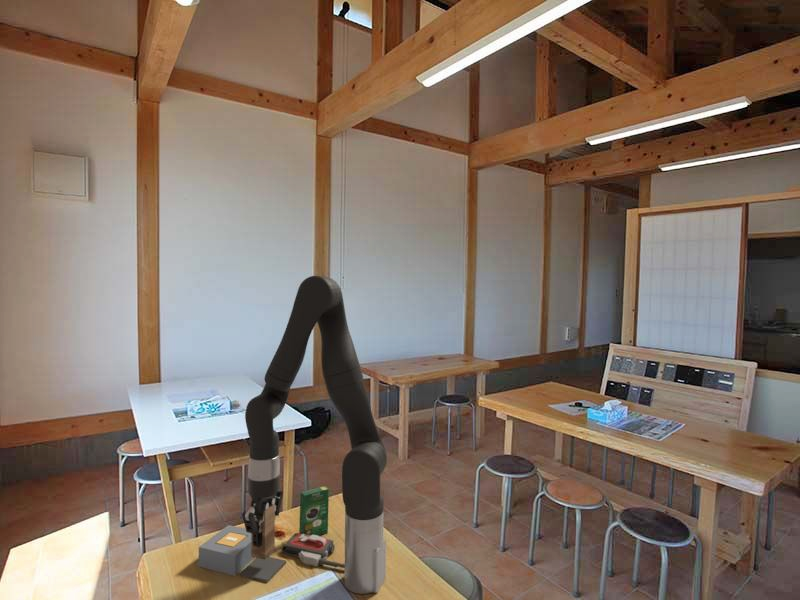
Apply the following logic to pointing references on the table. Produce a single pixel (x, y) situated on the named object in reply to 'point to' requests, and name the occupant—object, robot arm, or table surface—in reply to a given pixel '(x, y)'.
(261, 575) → the mat
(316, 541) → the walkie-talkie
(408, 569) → the table surface
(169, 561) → the table surface
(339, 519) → the table surface
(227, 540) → the button
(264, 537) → the tall cardboard-brown rectangular prism
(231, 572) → the box
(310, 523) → the coffee box
